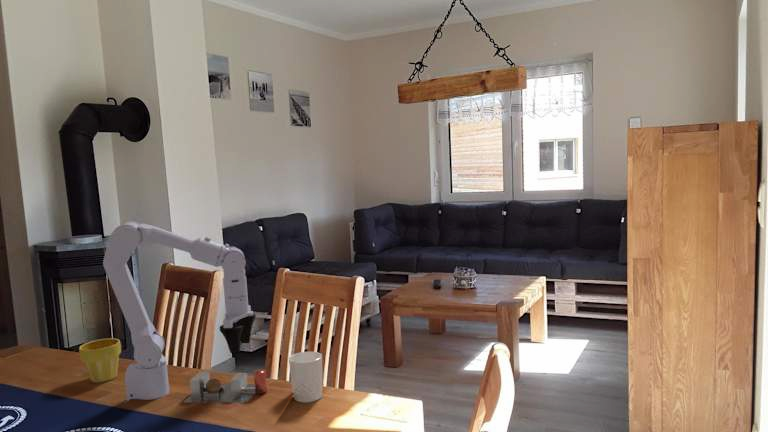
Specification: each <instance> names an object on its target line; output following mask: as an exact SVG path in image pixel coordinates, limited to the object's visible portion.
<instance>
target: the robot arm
mask: <svg viewBox="0 0 768 432" xmlns="http://www.w3.org/2000/svg"><path fill="white" fill-rule="evenodd" d="M211 239H212V238H211V237H209V236H205V238H203V237H198V238H196V239H190V238H188V237H185V236H182V235H180V234H177V233H174V232H171V231H168V230H166V229H163V228H161V227H158V226H155V225H150V224H147V223H143V222H142V223H140V222H137V221H135V220H134V221H133V220H128V221H125V222H123V223H121V225H119V226H117V227H115V228H114V230H113V231H112V232H111V234H110V236H109V237H108V238H107V244H106V248H105V252H104V253H105V254H104V256H103V261H102V265H103V268H104V270H105V274H106V275H107V278H108V280H109V283H110V285H111V288H112V290H113V292H114V295H115V297H116V300H117V302H118V304H119V308H120V309H121V312H122V314H123V316H124V317H123V318H124V319H125V322H126V324H127V325H128V329H129V331H130V335H131V338H130V339H131V342H132V343H131V344H132V345H133V359H134V361H135V362H134V363H130V364H129V365H128V366H127V368H126V370H125V373H124V383H125V395H126V402H129V401H131V400H143V401H144V400H148V401H149V400H156V399H160V398H163V397H165V396H167V395H168V394H169V393H170V384H169V383H170V382H169V374H168V373H169V371H168V363H167V358H166V357H165V356H164V355H163V350H164V349H165V346H166V345H165V344H166V343H165V338H164V337H163V336H162V335H161V334H160V333H158V331H157V330H156V328H155V326H154V324H153V323H152V321H151V320H150V318H149V315H148V313H147V310H146V308H145V305H144V303H143V301H142V298H141V295H140V294H139V293H140V292H139V290H138V288H137V286H136V282H135V281H134V278H133V276H132V273H131V271H130V269H129V266H128V261H129V259H130V258H131V255H132V254H133V251H134V250H135V249H136V248H137V247H138V246H139V245H140V244H142V247H145V246H151V245H155V244H157V245H161V246H164V247H169V248H172V249H175V250H179V251H183V252H185V253H189V255H190V257H191V260H195V261H197V262H201V263H204V264H206V265H210V266H212V267H217V268H218V267H222V269H223V279H222V282H223V283H222V284H223V285H222V286H223V294H224V308H225V314H224V319H223V320H222V323H223V324H221V325H220V326H219V331H220V333H221V334H222V336H223V337H224V339H225V341H226V343H227V346H228V347H227V348H228V350H229V352H230V354H239V353H240V350H241V344H250V342H251V341H250V340H251V335H252V328H253V324H254V321H255V319H256V313H254V311H253V310H252V307H251V306H252V305H250V304H249V297H248V283H247V276H246V269H245V268H246V264H247V260H246V259H245V258H246V257H245V255H244V252H243V251H242V250H241V249H239V248H238V247H236V246H230V244H228V243H225V244H222V243H219V242H216V241H214V240H211Z"/></svg>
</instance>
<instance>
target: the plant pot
mask: <svg viewBox="0 0 768 432" xmlns="http://www.w3.org/2000/svg"><path fill="white" fill-rule="evenodd" d="M78 350H79V351H78V352H79V358H80V361H81V362H83V364H84V366H85V369H86V371H87V374H88V377H89V381H91V382H92V383H103V382H104V383H105V382H108V381H112V380H113V379H115V378H116V377H117V376H118V371H119V370H118V369H119V358H120V354H121V353H122V344H121V341H120V339H118V338H113V337H111V338H110V337H109V338H101V339H96V340H92V341H91V340H90V341H89V342H85V343H83V344H82V345H80V346H79V348H78Z"/></svg>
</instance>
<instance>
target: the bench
mask: <svg viewBox="0 0 768 432" xmlns="http://www.w3.org/2000/svg"><path fill="white" fill-rule="evenodd" d="M210 376H211V374H210V370H209V371H207V370H204V371H201V370H200V371H199V372H197V374H195V375H194V376H193V377H191V378H190V380H189V389H190V395H189V396H188V397H186V399H185V400H184V401H182V403H183V404H184V403H185V404H187V403H188V404H189V403H192V404H193V403H196V404H198V403H199V404H200V403H206V404H207V403H249V402H250V401H251V400H252V398H253V397H254V396H255V394H257V393H256V392H244V389H243V391H242V392H231V383H230V384H229V383H228V384H225V383H223V384H222V383H221V388H220V390H219V391H218V392H215V393H209V392H208V391H207V390H206V383H207V382H208V381H209V380H210V379H211V377H210ZM246 387H255V383H248V385H247V386H246Z"/></svg>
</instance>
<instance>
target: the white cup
mask: <svg viewBox="0 0 768 432" xmlns="http://www.w3.org/2000/svg"><path fill="white" fill-rule="evenodd" d="M288 363H289V373H290V380H291V387H292V390H293V391H292V393H293V398H294V401H296V402H299V403H304V404H305V403H313V402H316V401H318V400H320V399H321V398H322V397H323V355H322V353H321V352H317V351H302V352H297V353H294V354H292V355H290V356H289V357H288Z"/></svg>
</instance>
